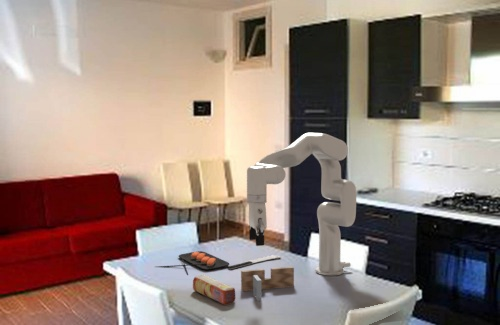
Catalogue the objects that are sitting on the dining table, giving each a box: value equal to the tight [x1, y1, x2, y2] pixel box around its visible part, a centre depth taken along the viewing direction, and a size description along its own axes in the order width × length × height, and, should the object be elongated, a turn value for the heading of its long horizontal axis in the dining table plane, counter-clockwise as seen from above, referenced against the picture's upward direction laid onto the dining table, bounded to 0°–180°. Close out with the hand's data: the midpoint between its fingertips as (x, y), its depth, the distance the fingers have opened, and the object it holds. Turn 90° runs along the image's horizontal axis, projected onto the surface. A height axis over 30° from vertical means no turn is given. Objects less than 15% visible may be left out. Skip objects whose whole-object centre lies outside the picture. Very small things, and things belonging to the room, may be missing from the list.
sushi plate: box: [155, 250, 230, 276], centre depth 250 cm, size 29×30×4 cm
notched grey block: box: [252, 275, 262, 302], centre depth 205 cm, size 6×2×8 cm, turn 14°
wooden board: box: [240, 266, 295, 292], centre depth 216 cm, size 22×2×8 cm, turn 104°
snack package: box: [192, 274, 236, 306], centre depth 207 cm, size 21×7×7 cm, turn 40°
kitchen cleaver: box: [227, 254, 282, 271], centre depth 254 cm, size 31×2×10 cm
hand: (256, 242), depth 204 cm, fingers open, 9 cm apart
